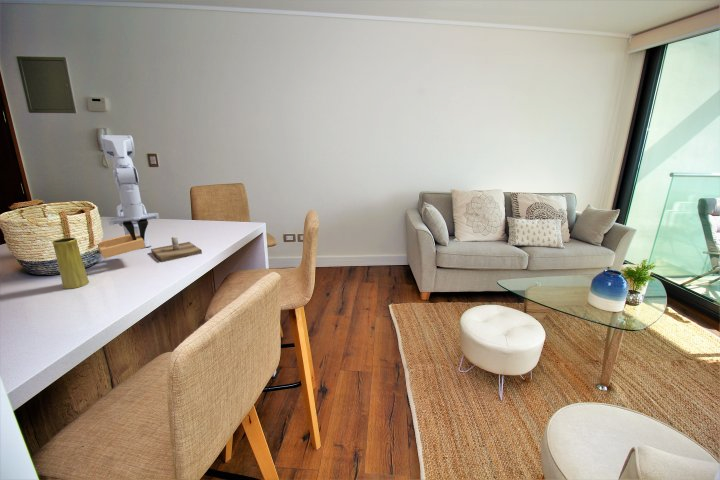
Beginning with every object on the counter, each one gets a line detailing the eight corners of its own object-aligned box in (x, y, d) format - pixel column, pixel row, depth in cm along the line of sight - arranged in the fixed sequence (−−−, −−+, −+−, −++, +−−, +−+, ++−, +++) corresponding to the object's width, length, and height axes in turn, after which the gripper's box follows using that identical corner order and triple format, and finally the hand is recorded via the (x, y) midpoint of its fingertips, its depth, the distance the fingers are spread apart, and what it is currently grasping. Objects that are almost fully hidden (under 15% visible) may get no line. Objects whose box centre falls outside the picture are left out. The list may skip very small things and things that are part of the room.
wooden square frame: (98, 250, 112) (95, 242, 111) (138, 240, 120) (135, 232, 119) (104, 258, 104) (101, 250, 103) (145, 247, 112) (143, 239, 111)
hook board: (151, 252, 125) (148, 238, 123) (189, 245, 135) (187, 231, 133) (161, 261, 116) (158, 246, 114) (201, 253, 125) (199, 238, 124)
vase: (74, 290, 93) (61, 243, 89) (57, 287, 95) (44, 242, 90) (94, 281, 99) (83, 237, 95) (78, 279, 100) (66, 236, 96)
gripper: (107, 208, 102) (116, 248, 106) (158, 202, 112) (164, 239, 116) (103, 204, 107) (112, 243, 111) (153, 199, 117) (159, 235, 121)
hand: (138, 241), depth 114 cm, fingers closed on wooden square frame, 2 cm apart
